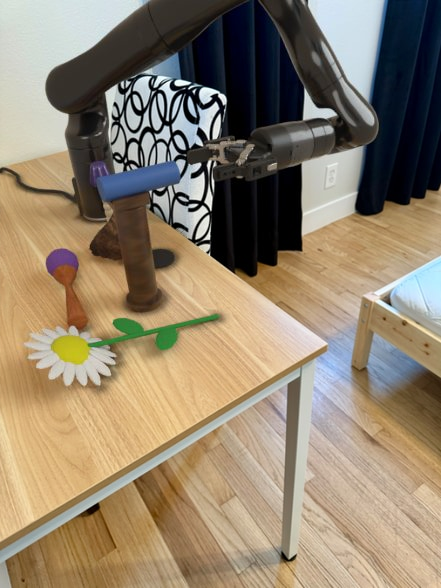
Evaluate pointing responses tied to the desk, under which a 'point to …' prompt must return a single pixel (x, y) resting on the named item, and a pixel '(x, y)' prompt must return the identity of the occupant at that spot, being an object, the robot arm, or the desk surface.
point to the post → (137, 251)
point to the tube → (138, 180)
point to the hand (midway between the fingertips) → (200, 166)
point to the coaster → (162, 258)
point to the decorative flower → (93, 348)
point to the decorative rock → (107, 242)
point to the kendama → (67, 284)
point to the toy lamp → (96, 171)
